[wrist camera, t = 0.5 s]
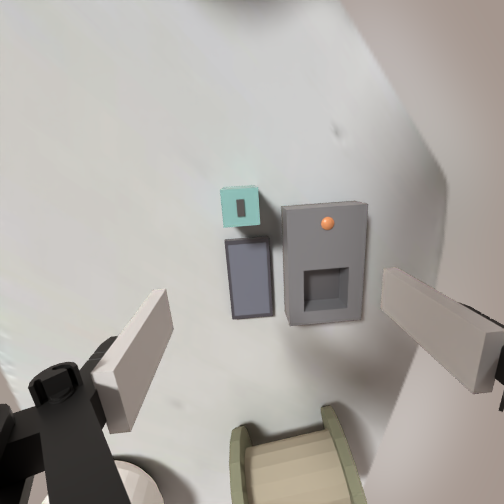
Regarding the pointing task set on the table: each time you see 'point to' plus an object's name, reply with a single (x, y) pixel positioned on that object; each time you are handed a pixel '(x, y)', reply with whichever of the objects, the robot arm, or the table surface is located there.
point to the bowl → (136, 485)
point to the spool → (295, 468)
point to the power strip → (323, 261)
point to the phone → (249, 277)
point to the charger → (240, 206)
